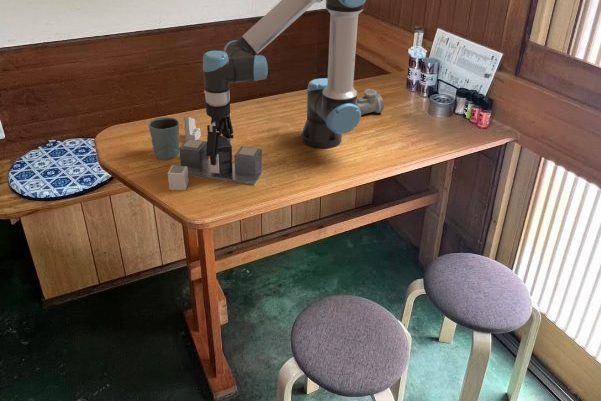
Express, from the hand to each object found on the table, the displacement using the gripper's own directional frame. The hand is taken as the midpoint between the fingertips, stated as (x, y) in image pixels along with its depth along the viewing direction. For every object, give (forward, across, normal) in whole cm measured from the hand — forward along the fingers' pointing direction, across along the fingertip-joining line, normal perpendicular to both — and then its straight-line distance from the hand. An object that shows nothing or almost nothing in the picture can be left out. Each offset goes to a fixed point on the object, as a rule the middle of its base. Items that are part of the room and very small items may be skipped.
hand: (221, 164), depth 185 cm
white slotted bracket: (+3, -21, -19) cm, 28 cm away
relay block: (+3, +12, -10) cm, 16 cm away
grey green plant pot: (+3, -7, -23) cm, 24 cm away
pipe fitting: (+3, -63, +40) cm, 75 cm away
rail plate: (+3, 0, 0) cm, 3 cm away
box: (+2, 0, 0) cm, 2 cm away
